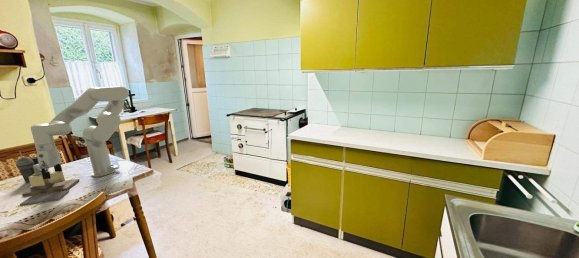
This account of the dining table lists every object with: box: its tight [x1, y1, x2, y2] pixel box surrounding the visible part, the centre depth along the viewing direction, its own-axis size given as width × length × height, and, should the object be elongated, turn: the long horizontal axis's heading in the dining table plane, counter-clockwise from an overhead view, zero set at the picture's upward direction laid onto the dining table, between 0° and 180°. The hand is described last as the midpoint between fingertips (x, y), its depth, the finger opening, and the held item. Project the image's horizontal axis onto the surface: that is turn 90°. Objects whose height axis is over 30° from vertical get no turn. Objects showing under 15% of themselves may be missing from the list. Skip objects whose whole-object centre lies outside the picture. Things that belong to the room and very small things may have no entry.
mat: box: [19, 190, 70, 206], centre depth 123 cm, size 16×9×1 cm, turn 106°
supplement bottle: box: [30, 156, 46, 170], centre depth 150 cm, size 7×7×12 cm
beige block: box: [28, 170, 66, 187], centre depth 132 cm, size 13×6×6 cm, turn 106°
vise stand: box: [21, 164, 80, 197], centre depth 132 cm, size 20×12×15 cm, turn 106°
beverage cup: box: [15, 150, 35, 184], centre depth 140 cm, size 7×7×20 cm
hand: (53, 175), depth 132 cm, fingers open, 9 cm apart
